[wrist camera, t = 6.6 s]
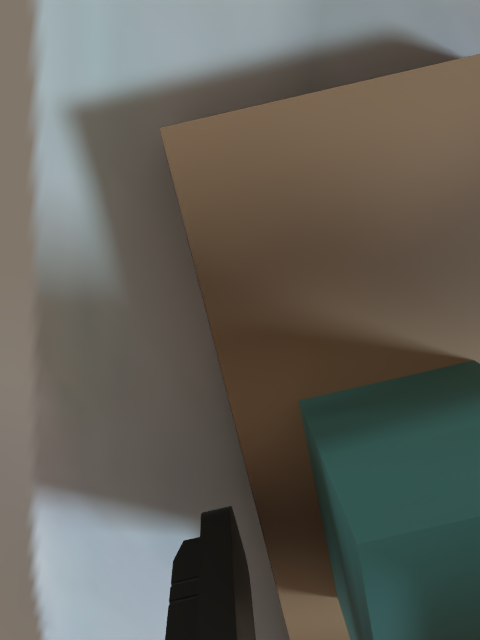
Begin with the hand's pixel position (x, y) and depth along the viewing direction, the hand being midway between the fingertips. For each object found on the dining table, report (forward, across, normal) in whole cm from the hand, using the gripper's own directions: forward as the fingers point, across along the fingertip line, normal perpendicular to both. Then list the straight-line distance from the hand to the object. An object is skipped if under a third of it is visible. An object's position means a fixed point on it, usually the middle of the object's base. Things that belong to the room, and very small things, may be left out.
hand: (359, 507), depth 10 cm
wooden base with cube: (+2, -1, 0) cm, 2 cm away
